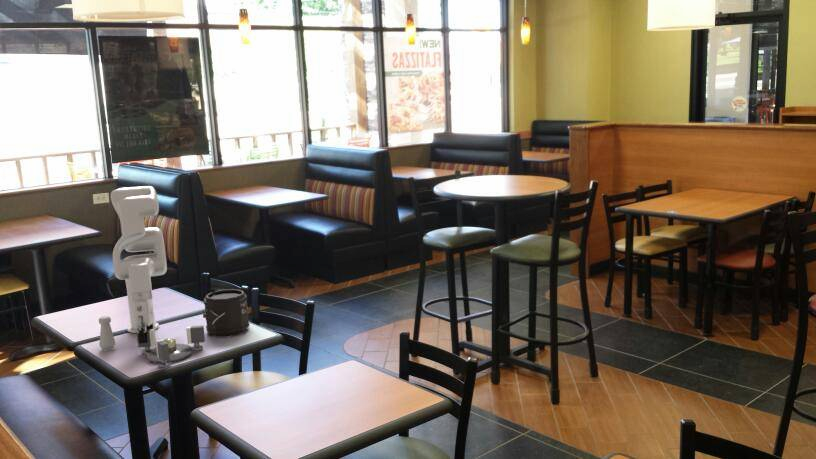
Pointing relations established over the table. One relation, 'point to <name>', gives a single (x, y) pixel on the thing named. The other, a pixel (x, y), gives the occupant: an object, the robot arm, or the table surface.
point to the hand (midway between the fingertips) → (146, 338)
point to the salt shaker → (106, 334)
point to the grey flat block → (150, 342)
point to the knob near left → (195, 335)
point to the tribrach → (171, 353)
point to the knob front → (162, 350)
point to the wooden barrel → (226, 313)
